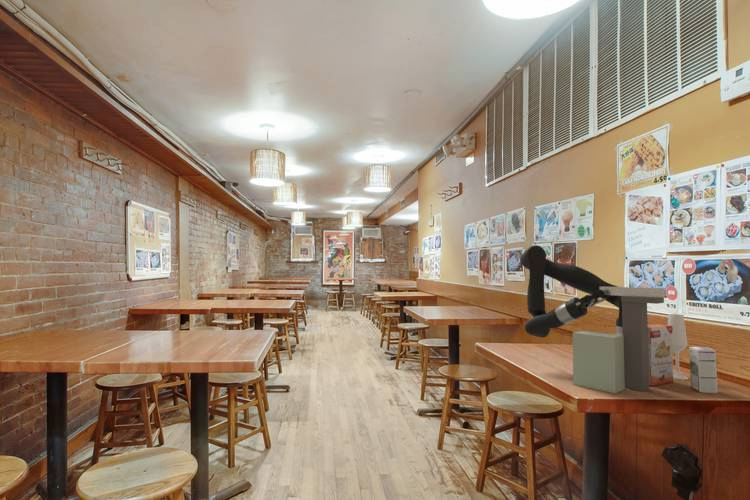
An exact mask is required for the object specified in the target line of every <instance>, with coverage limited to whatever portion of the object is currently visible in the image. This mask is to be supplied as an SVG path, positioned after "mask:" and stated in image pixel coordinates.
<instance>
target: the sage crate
mask: <svg viewBox="0 0 750 500" xmlns="http://www.w3.org/2000/svg"><path fill="white" fill-rule="evenodd" d="M572 377H573V378H572V379H573V380H572V381H573V386H578V387H583V388H587V389H592V390H593V389H594V390H597V391H602V392H606V393H607V392H608V393H612V394H617V393H620V392H622V391H624V390H625V389H626V388H625V378H624V336H623V335H616V333H615V334H613V333H607V332H606V333H605V332H597V331H589V330H588V331H587V330H580V331H573V332H572Z"/></svg>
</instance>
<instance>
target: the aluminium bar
mask: <svg viewBox="0 0 750 500" xmlns="http://www.w3.org/2000/svg"><path fill="white" fill-rule="evenodd" d="M600 290H603V292H604V293H605V295H615V296H638V297H660V298H663V297H664V298H666V287H665V288H661V287H628V286H627V287H625V286H618V287H600Z"/></svg>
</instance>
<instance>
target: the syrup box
mask: <svg viewBox="0 0 750 500" xmlns="http://www.w3.org/2000/svg"><path fill="white" fill-rule="evenodd" d="M688 349H689V350H688V351H689V354H688V355H689V369H690V370H689V372H690V388H691V389H693V390H695V391H697V392H699V393H705V394H707V393H709V394H718V393H719V391H718V390H719V389H718V386H719V385H718V372H717V369H718V368H717V352H716V349H713V348H709V347H706V346H689V347H688Z"/></svg>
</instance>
